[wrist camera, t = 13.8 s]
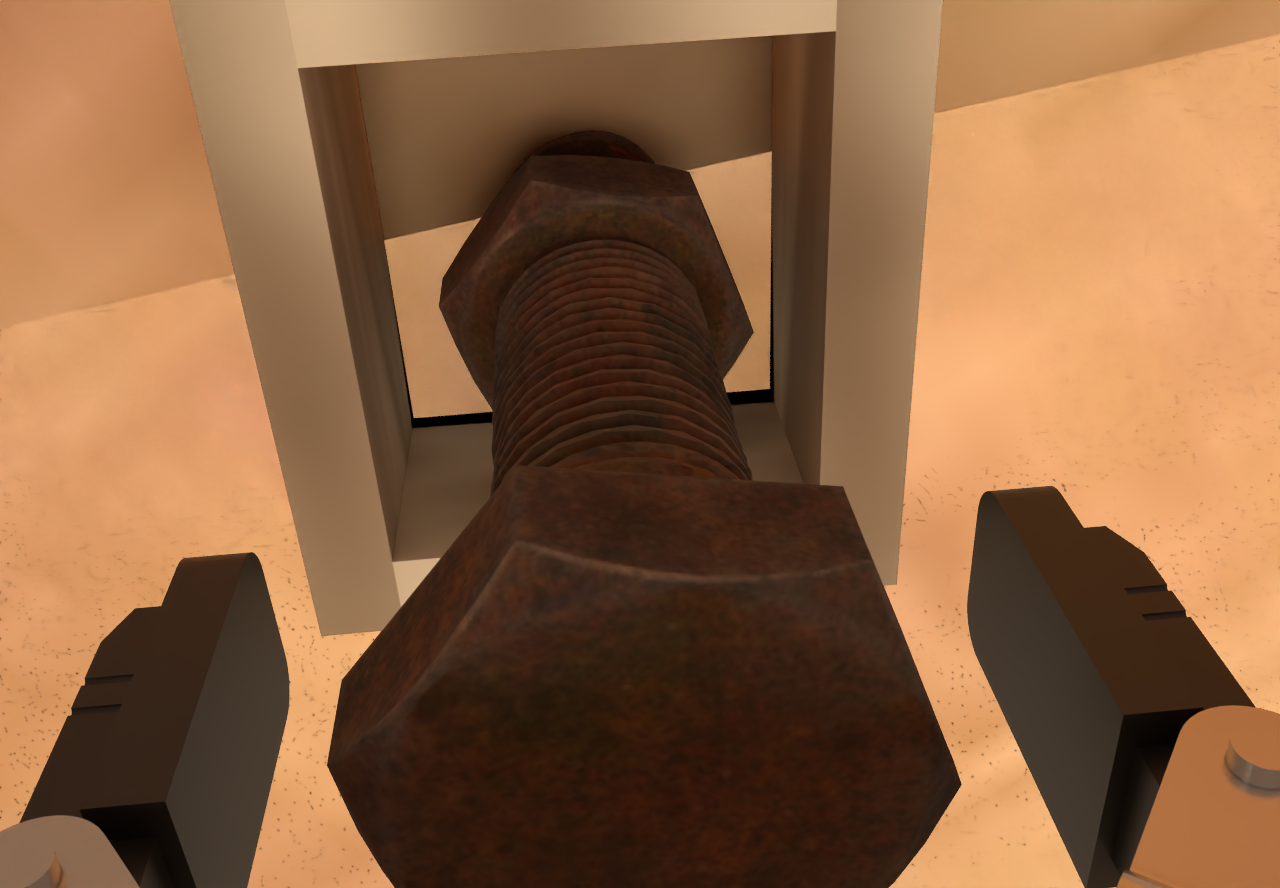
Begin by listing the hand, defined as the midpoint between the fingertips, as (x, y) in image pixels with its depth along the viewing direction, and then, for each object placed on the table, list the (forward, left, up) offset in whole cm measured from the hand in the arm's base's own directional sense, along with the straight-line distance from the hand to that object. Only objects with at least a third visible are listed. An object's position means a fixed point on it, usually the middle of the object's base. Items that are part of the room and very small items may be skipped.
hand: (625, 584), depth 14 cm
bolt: (0, 0, -12) cm, 12 cm away
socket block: (0, 0, -12) cm, 12 cm away
